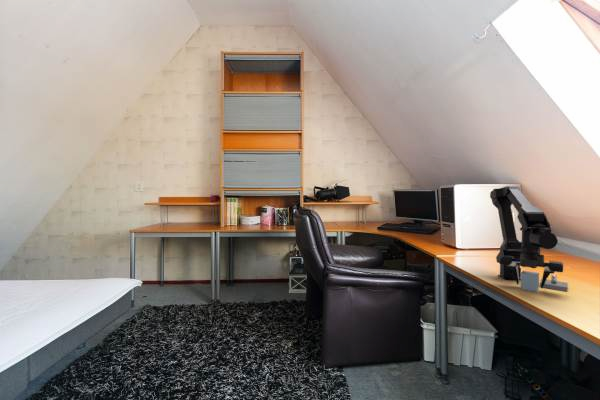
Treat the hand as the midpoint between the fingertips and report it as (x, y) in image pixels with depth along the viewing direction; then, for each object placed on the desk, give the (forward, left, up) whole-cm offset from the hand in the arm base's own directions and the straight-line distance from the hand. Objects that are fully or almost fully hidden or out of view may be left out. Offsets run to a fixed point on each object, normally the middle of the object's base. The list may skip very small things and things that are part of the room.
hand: (529, 286), depth 118 cm
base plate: (+11, +4, -1) cm, 12 cm away
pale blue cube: (0, 0, -1) cm, 1 cm away
